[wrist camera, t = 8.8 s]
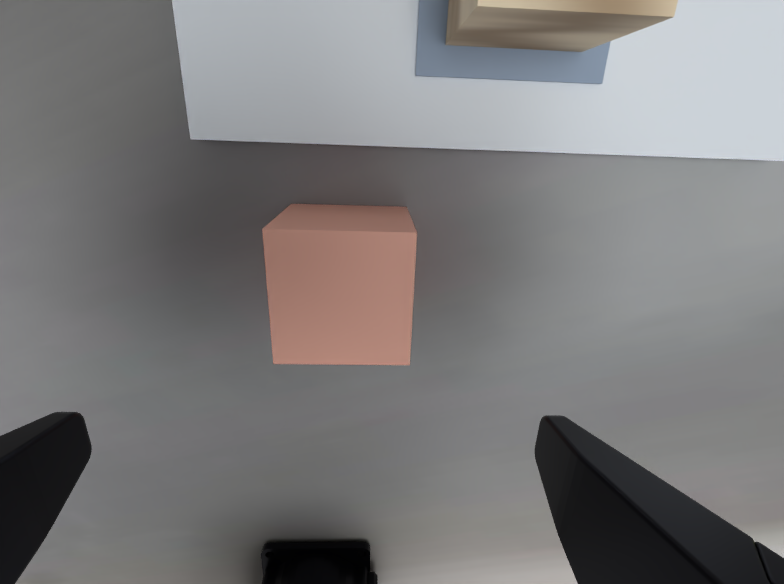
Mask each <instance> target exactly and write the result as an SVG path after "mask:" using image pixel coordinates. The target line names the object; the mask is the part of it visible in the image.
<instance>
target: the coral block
mask: <svg viewBox="0 0 784 584" xmlns="http://www.w3.org/2000/svg"><path fill="white" fill-rule="evenodd" d="M262 232H263V244H264V257H265V269H266V281H267V293H268V305H269V317H270V329H271V342H272V354H273V364H330V365H410V352H411V334H412V316H413V298H414V280H415V262H416V244H417V231H416V229H415V226H414V224H413V221H412V219H411V216H410V214H409V211H408V209H407V207H398V206H361V205H323V204H290V205H289V206H288V207H287V208H286V209H285V210H283V211H282V212H281V213H280V214H279V215H278V216H277V217H275V218H274V219H273V220H272V221H271V222H270V223H269V224H267V225H266V226H265V227H264V228H263V229H262Z"/></svg>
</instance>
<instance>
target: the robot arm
mask: <svg viewBox="0 0 784 584" xmlns="http://www.w3.org/2000/svg"><path fill="white" fill-rule="evenodd" d="M90 455H91V442H90V439H89V435H88V431H87V428H86V424H85V420H84V418H83V416H82V415H81V414H80V413H78V412H55V413H52V414H50V415H47V416H45V417H43V418H41V419H38V420H36V421H34V422H31V423H29V424H27V425H25V426H22V427H20V428H18V429H15V430H13V431H11V432H9V433H6V434H4V435H2V436H0V584H15V583H16V581H17V580H18V578H19V577H20V576H21V574H22V573H23V571H24V570H25V568H26V567H27V565H28V564H29V562H30V561H31V559H32V558H33V556H34V555H35V553H36V552H37V550H38V549H39V547H40V546H41V544H42V542H43V541H44V539H45V538H46V536H47V534H48V532H49V531H50V529H51V527H52V526H53V524H54V522H55V520H56V519H57V517H58V515H59V513H60V511H61V510H62V508H63V506H64V504H65V502H66V500H67V499H68V497H69V495H70V493H71V491H72V490H73V488H74V486H75V484H76V482H77V481H78V479H79V477H80V475H81V473H82V472H83V470H84V468H85V466H86V464H87V463H88V461H89V458H90ZM535 459H536V463H537V466H538V470H539V473H540V476H541V480H542V483H543V486H544V490H545V493H546V496H547V500H548V503H549V507H550V510H551V513H552V517H553V520H554V523H555V526H556V529H557V533H558V536H559V538H560V541H561V543H562V546H563V549H564V551H565V553H566V556H567V558H568V561H569V563H570V566H571V568H572V570H573V573H574V575H575V578H576V580H577V583H578V584H784V558H782V557H781V556H779V555H778V554H776V553H775V552H773V551H772V550H770V549H769V548H767V547H766V546H764V545H763V544H761V543H759V542H754V540H753V539H752V538H751V537H750V536H748V535H747V534H745V533H744V532H742V531H741V530H739V529H738V528H736V527H734V526H733V525H731V524H730V523H728V522H727V521H725V520H724V519H722V518H721V517H719V516H717V515H716V514H714V513H713V512H711V511H710V510H708V509H707V508H705V507H704V506H702V505H700V504H699V503H697V502H696V501H694V500H693V499H691V498H690V497H688V496H687V495H685V494H684V493H682V492H680V491H679V490H677V489H676V488H674V487H673V486H671V485H670V484H668V483H667V482H665V481H663V480H662V479H660V478H659V477H657V476H656V475H654V474H653V473H651V472H650V471H648V470H646V469H645V468H643V467H642V466H640V465H639V464H637V463H636V462H634V461H633V460H631V459H629V458H628V457H626V456H625V455H623V454H622V453H620V452H619V451H617V450H616V449H614V448H612V447H611V446H609V445H608V444H606V443H605V442H603V441H602V440H600V439H599V438H597V437H595V436H594V435H592V434H591V433H589V432H588V431H586V430H585V429H583V428H582V427H580V426H578V425H577V424H575V423H574V422H572V421H571V420H569V419H568V418H566V417H564V416H544V417H542V419H541V421H540V425H539V430H538V435H537V440H536V445H535ZM261 559H262V568H263V580H262V584H377V574H376V573H375V572H370V545H369V544H368V543H366V542H290V543H267V544H265V545H264V546H263V549H262V553H261Z"/></svg>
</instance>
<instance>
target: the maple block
mask: <svg viewBox="0 0 784 584" xmlns="http://www.w3.org/2000/svg"><path fill="white" fill-rule="evenodd" d="M677 2H678V0H449V4H448V17H447V31H446V44H445V45H453V46H472V47H492V48H512V49H532V50H551V51H571V52H583V51H586V50H588V49H591V48H594V47H596V46H599V45H602V44H604V43H607V42H609V41H612V40H615V39H617V38H620V37H623V36H625V35H628V34H631V33H633V32H636V31H638V30H641V29H644V28H646V27H649V26H652V25H654V24H657V23H659V22H662V21H665V20H667V19H670V18H673V17H674V15H675V11H676V7H677Z"/></svg>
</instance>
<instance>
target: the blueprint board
mask: <svg viewBox="0 0 784 584" xmlns="http://www.w3.org/2000/svg"><path fill="white" fill-rule="evenodd" d="M172 4H173V12H174V19H175V27H176V34H177V42H178V50H179V57H180V65H181V72H182V80H183V87H184V95H185V102H186V110H187V117H188V125H189V133H190V139H195V140H222V141H250V142H277V143H304V144H332V145H359V146H387V147H414V148H442V149H469V150H497V151H524V152H551V153H579V154H606V155H634V156H661V157H689V158H716V159H744V160H771V161H784V0H678V2H677V7H676V11H675V15H674V17H673V18H670V19H667V20H665V21H662V22H659V23H657V24H654V25H652V26H649V27H646V28H644V29H641V30H638V31H636V32H633V33H631V34H628V35H625V36H623V37H620V38H617V39H615V40H612V41H609V42H607V43H604V44H602V45H599V46H596V47H594V48H591V49H588V50H586V51H583V52H571V51H551V50H532V49H512V48H492V47H472V46H453V45H445V44H446V31H447V17H448V4H449V0H172Z"/></svg>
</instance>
